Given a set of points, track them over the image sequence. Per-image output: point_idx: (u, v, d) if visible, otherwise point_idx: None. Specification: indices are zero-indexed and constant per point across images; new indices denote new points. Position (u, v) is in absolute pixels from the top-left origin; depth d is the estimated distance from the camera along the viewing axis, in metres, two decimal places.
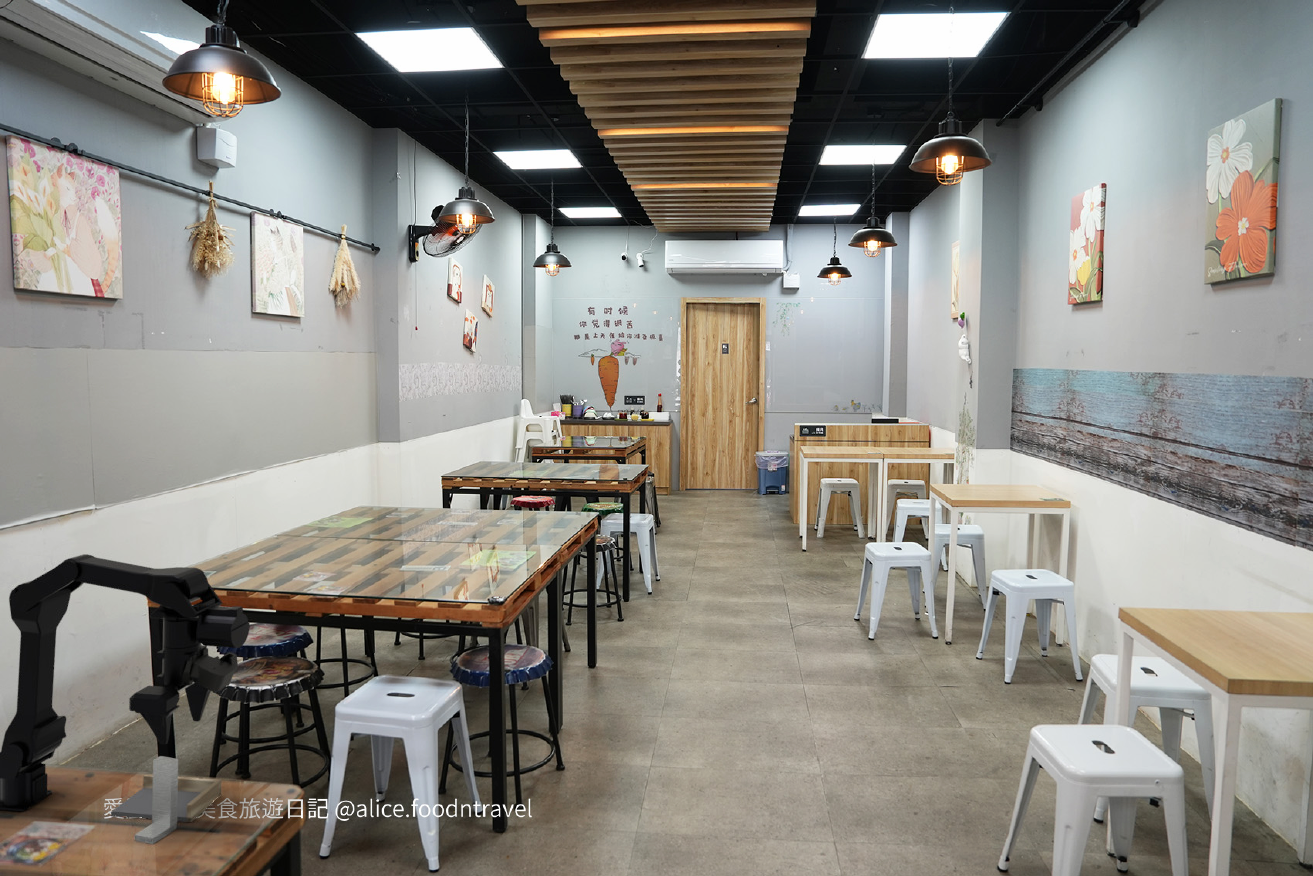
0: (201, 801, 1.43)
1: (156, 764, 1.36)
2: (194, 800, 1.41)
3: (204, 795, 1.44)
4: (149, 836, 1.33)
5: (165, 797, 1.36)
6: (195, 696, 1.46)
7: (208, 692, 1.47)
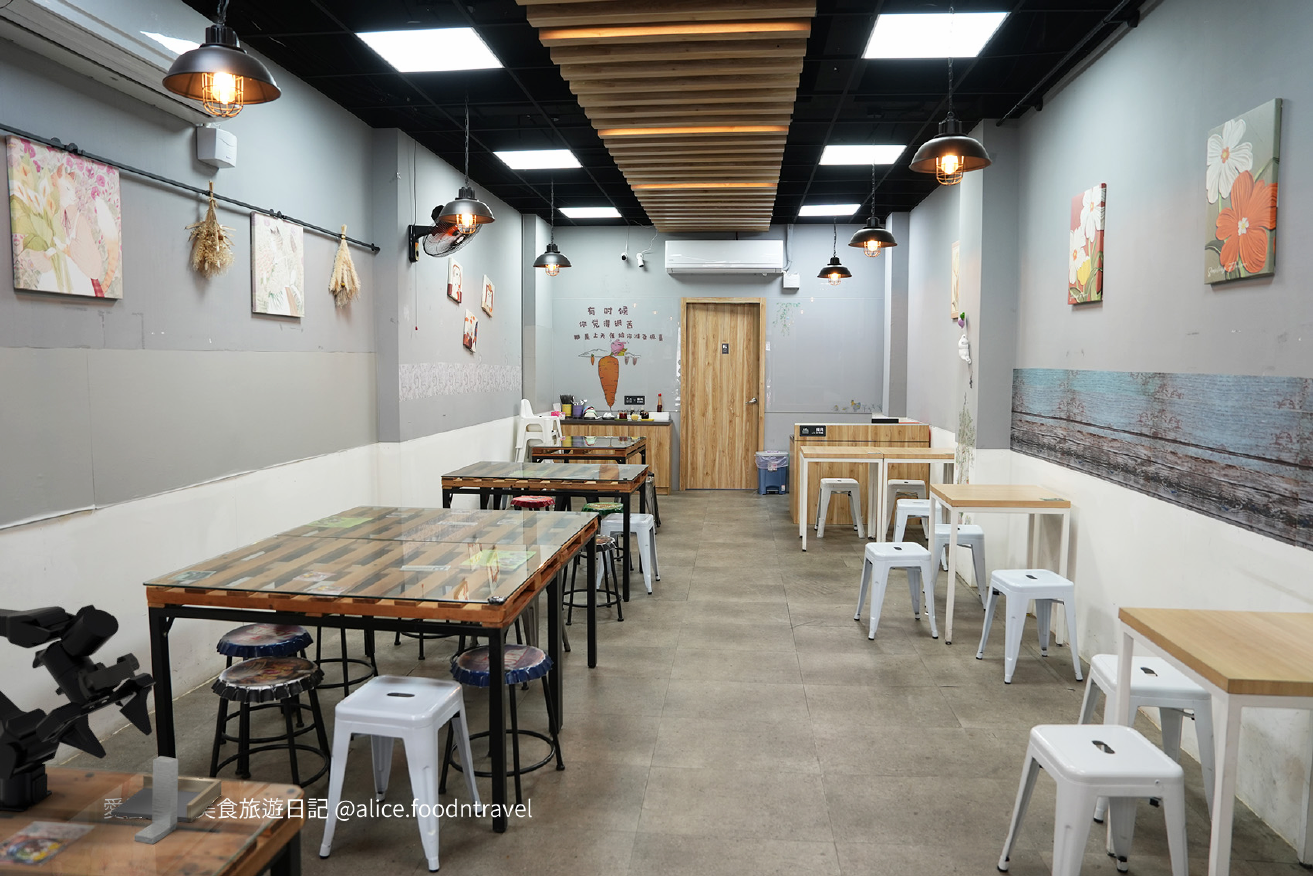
0: (201, 801, 1.43)
1: (156, 764, 1.36)
2: (194, 800, 1.41)
3: (204, 795, 1.44)
4: (149, 836, 1.33)
5: (165, 797, 1.36)
6: (134, 714, 1.43)
7: (142, 704, 1.44)
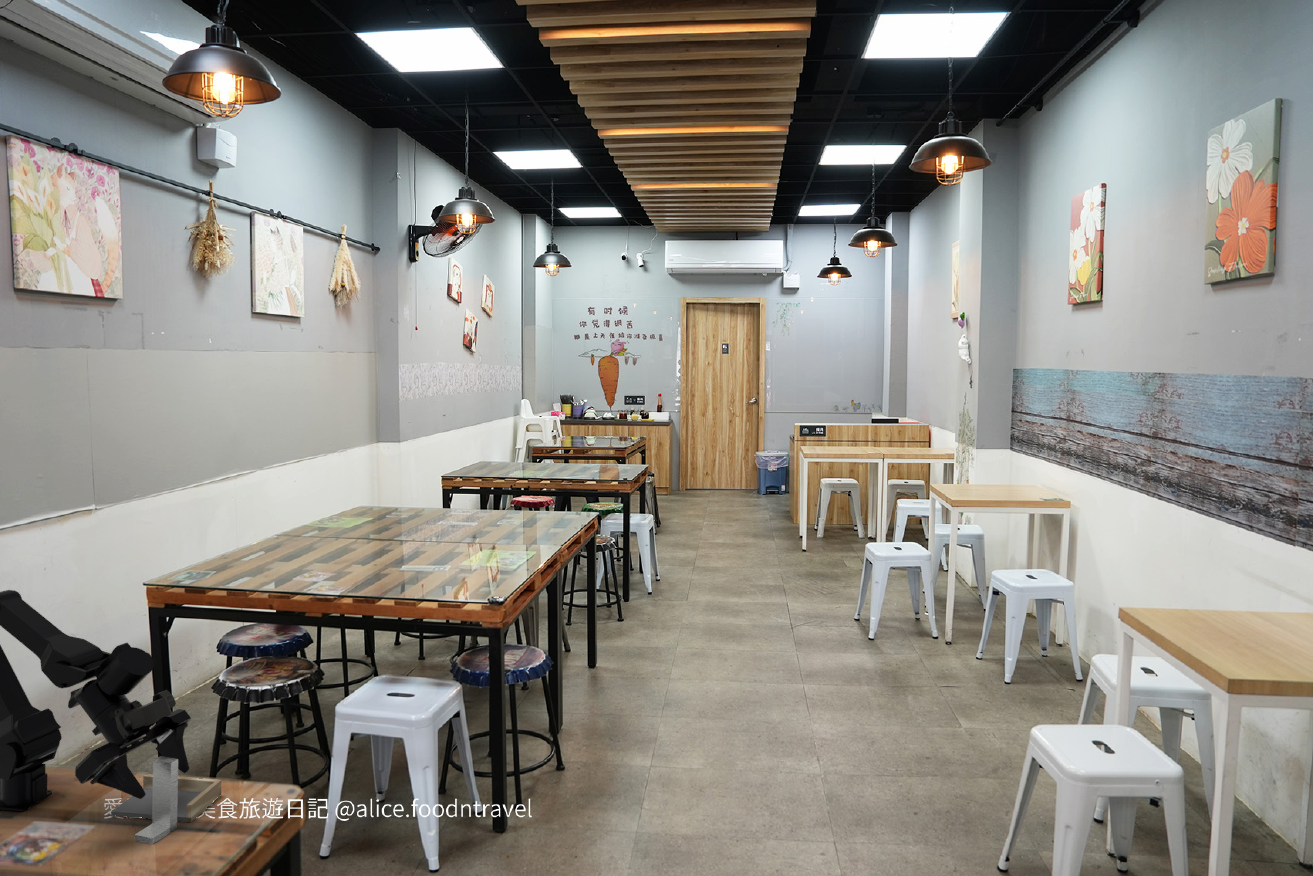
0: (201, 801, 1.43)
1: (156, 764, 1.36)
2: (194, 800, 1.41)
3: (204, 795, 1.44)
4: (149, 836, 1.33)
5: (165, 797, 1.36)
6: (171, 752, 1.42)
7: (179, 741, 1.43)
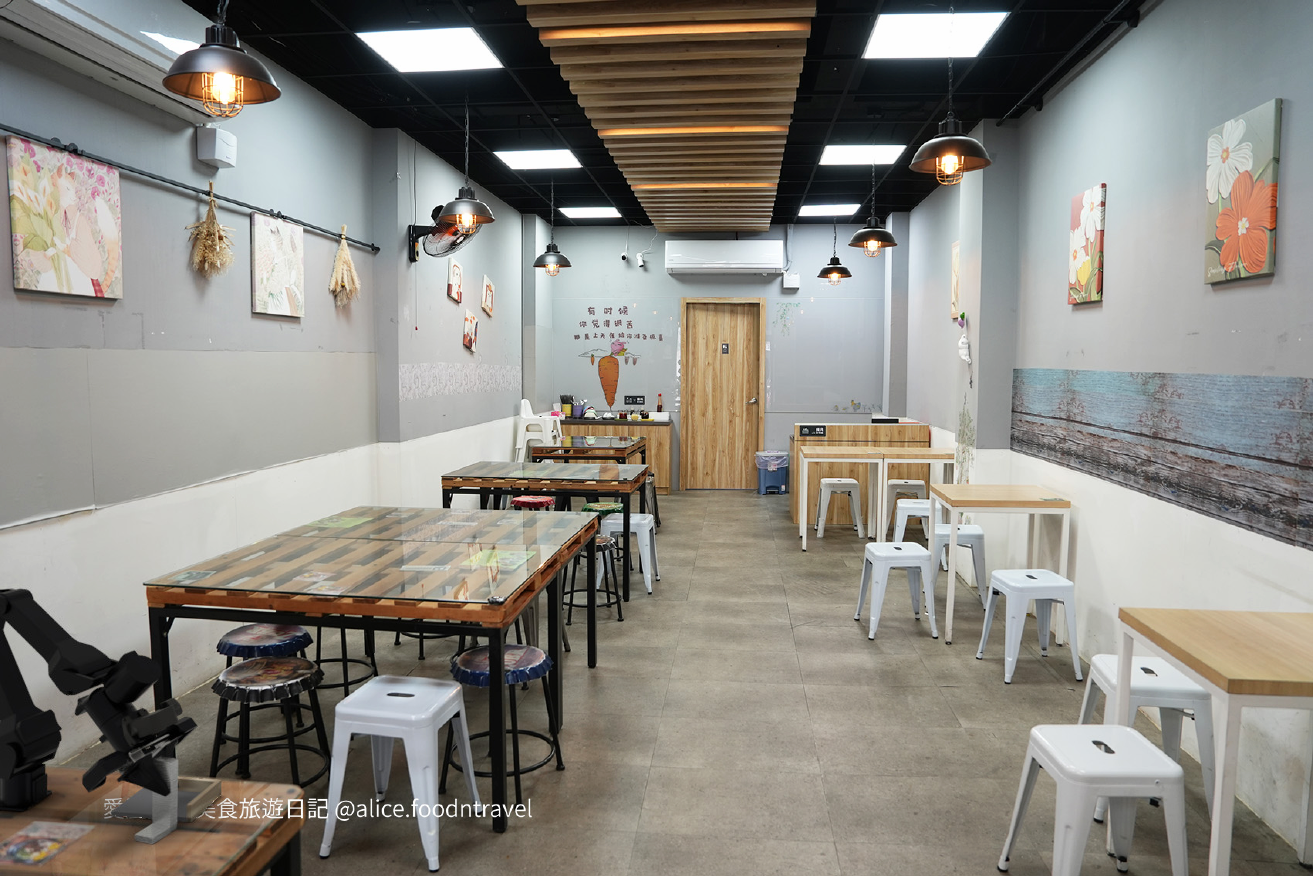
0: (201, 801, 1.43)
1: (156, 764, 1.36)
2: (194, 800, 1.41)
3: (204, 795, 1.44)
4: (149, 836, 1.33)
5: (165, 797, 1.36)
6: None
7: None
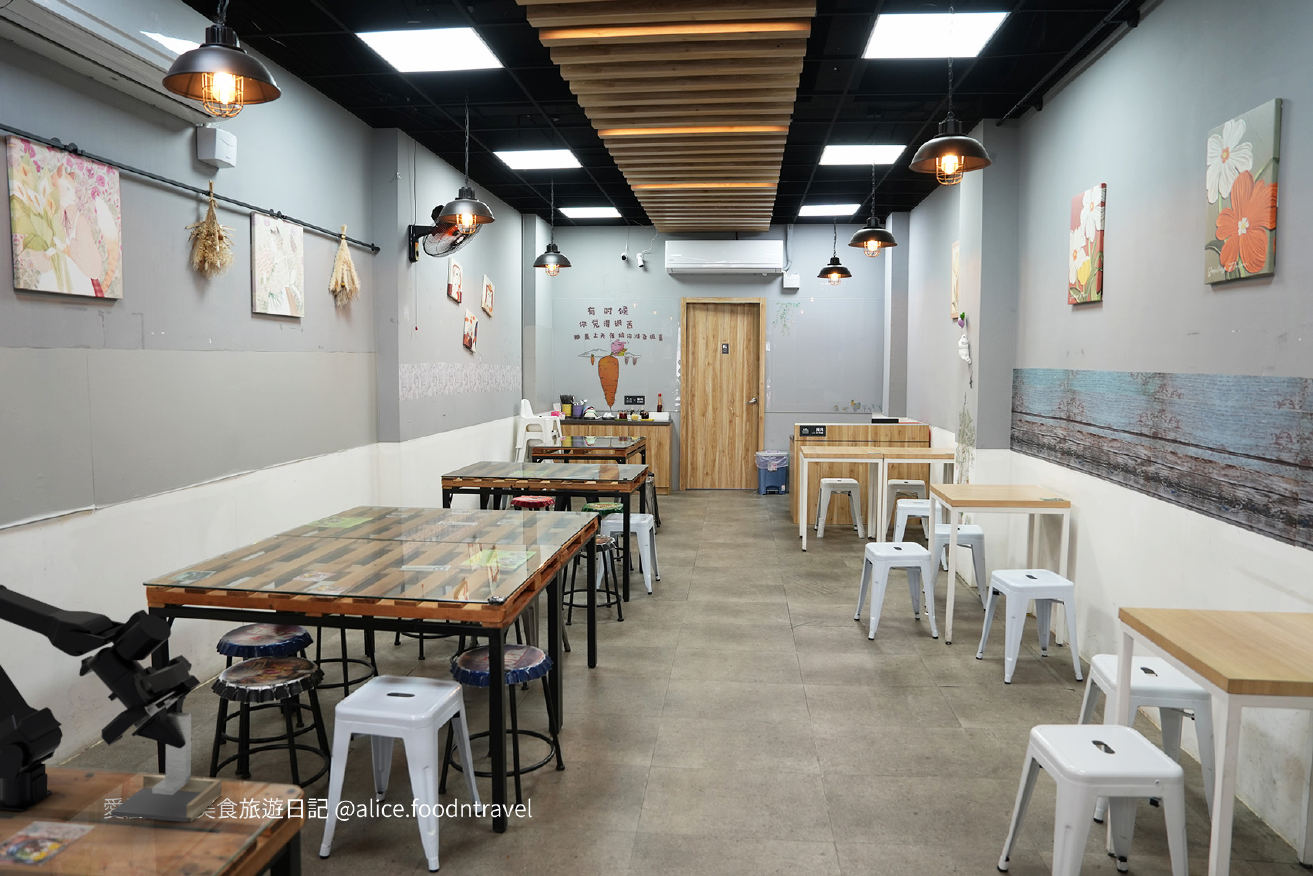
0: (201, 801, 1.43)
1: (169, 719, 1.41)
2: (194, 800, 1.41)
3: (204, 795, 1.44)
4: (167, 787, 1.38)
5: (180, 750, 1.41)
6: None
7: None
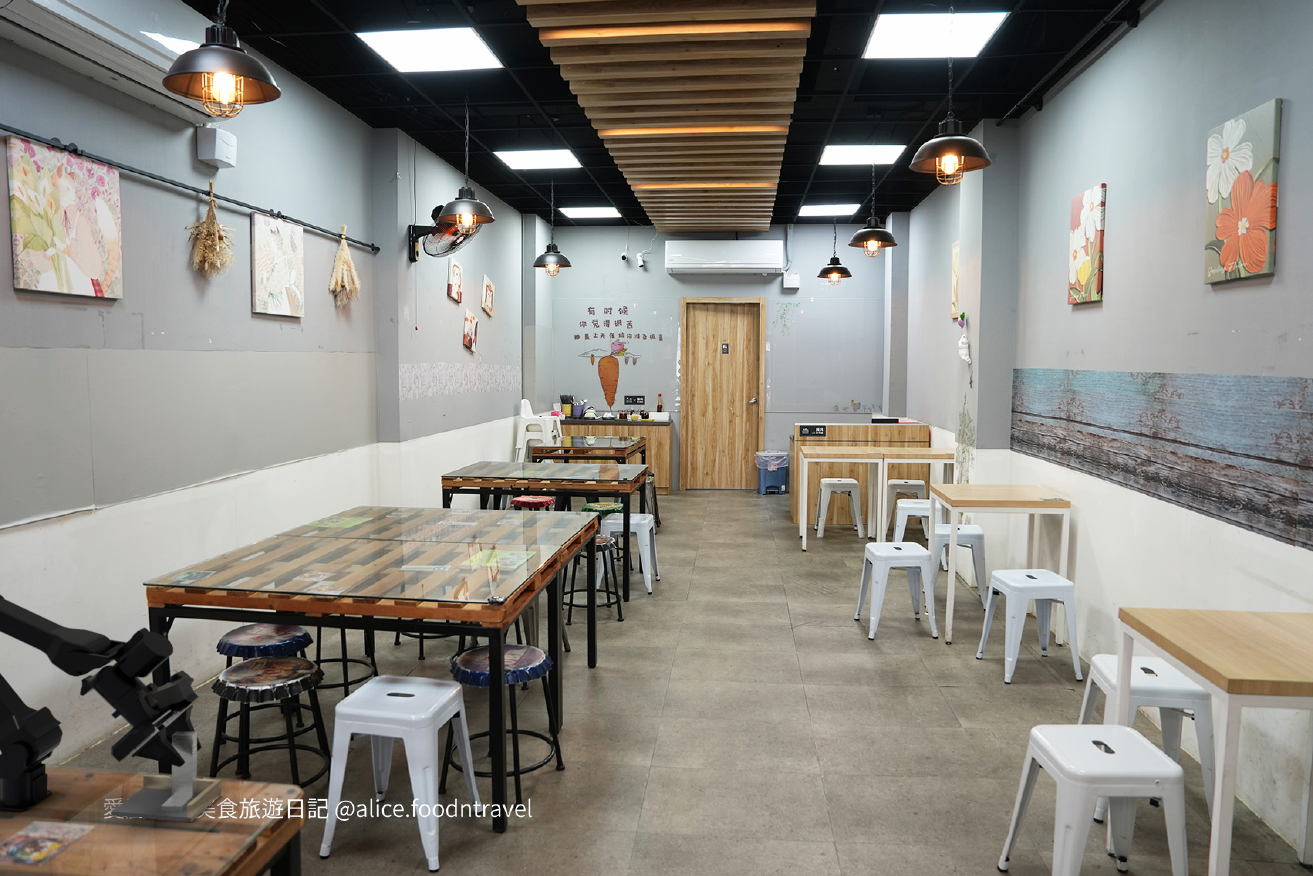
0: (201, 801, 1.43)
1: (175, 738, 1.44)
2: (194, 800, 1.41)
3: (204, 795, 1.44)
4: (177, 805, 1.42)
5: (186, 768, 1.44)
6: None
7: (188, 722, 1.49)
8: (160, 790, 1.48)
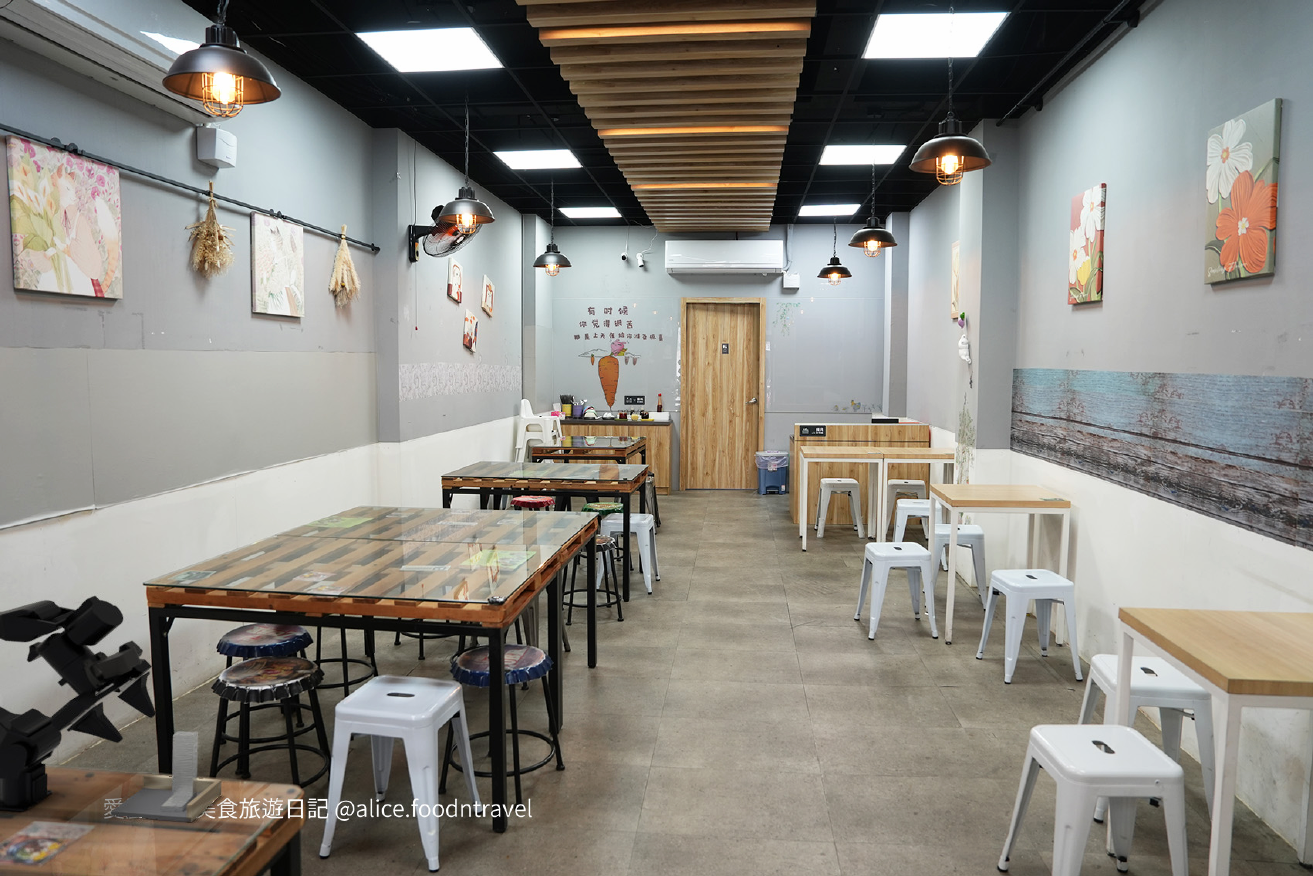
0: (201, 801, 1.43)
1: (176, 738, 1.44)
2: (194, 800, 1.41)
3: (204, 795, 1.44)
4: (177, 805, 1.42)
5: (187, 768, 1.44)
6: (135, 699, 1.48)
7: (143, 688, 1.49)
8: (160, 790, 1.48)
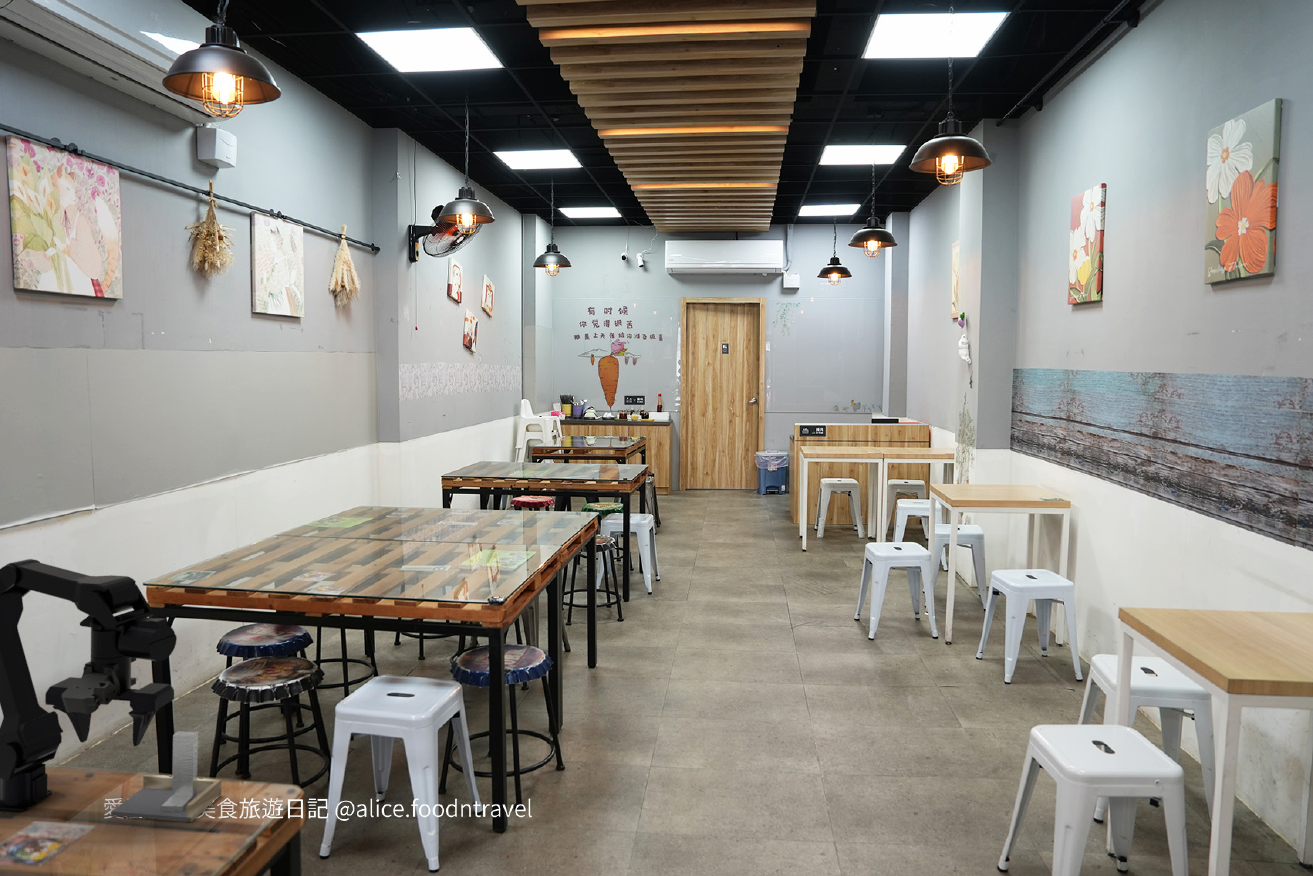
0: (201, 801, 1.43)
1: (176, 738, 1.44)
2: (194, 800, 1.41)
3: (204, 795, 1.44)
4: (177, 805, 1.42)
5: (187, 768, 1.44)
6: None
7: (136, 720, 1.37)
8: (160, 790, 1.48)
